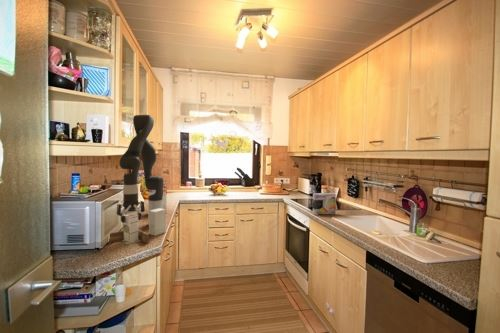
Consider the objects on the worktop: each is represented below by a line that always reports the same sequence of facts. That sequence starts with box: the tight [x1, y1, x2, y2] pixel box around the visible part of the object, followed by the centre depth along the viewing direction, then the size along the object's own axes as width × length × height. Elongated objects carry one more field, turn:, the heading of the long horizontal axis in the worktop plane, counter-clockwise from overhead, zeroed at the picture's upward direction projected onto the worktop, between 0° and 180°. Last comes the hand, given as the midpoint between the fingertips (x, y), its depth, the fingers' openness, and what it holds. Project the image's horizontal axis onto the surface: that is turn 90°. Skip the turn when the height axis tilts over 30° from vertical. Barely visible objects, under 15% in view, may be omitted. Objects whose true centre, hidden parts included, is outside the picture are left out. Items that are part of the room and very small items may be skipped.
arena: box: [107, 228, 150, 245], centre depth 144 cm, size 16×16×5 cm
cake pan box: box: [312, 192, 337, 216], centre depth 218 cm, size 19×5×18 cm, turn 94°
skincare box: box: [148, 208, 167, 237], centre depth 161 cm, size 8×6×15 cm
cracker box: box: [147, 187, 167, 211], centre depth 211 cm, size 14×6×21 cm, turn 66°
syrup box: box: [122, 213, 139, 242], centre depth 147 cm, size 6×6×14 cm
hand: (131, 221), depth 146 cm, fingers open, 8 cm apart
